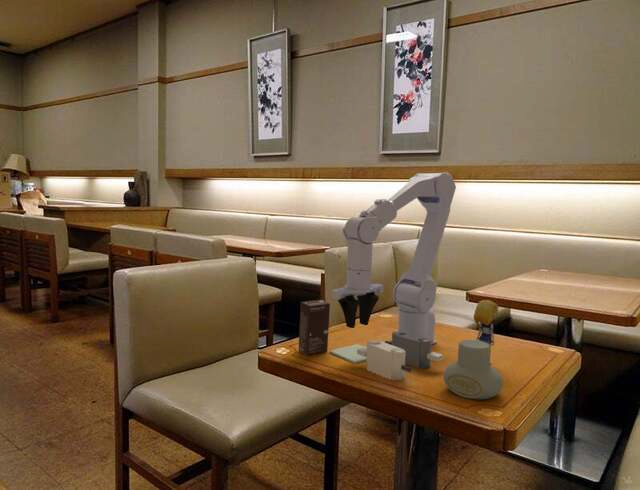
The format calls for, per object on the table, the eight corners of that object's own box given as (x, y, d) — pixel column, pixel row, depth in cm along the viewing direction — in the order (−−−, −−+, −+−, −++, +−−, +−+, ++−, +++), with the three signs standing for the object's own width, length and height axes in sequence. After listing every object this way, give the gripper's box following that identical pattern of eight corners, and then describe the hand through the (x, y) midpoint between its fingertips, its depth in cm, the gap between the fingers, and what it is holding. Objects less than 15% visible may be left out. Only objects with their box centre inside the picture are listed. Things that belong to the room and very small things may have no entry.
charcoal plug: (380, 356, 113) (381, 331, 112) (389, 353, 116) (391, 328, 115) (435, 373, 103) (436, 346, 102) (443, 369, 106) (445, 342, 105)
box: (308, 356, 112) (309, 305, 111) (298, 350, 116) (299, 301, 114) (329, 352, 115) (330, 302, 114) (319, 346, 119) (320, 299, 118)
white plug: (415, 382, 98) (416, 354, 97) (403, 386, 96) (404, 357, 95) (365, 362, 109) (366, 336, 108) (354, 365, 107) (355, 339, 106)
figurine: (498, 365, 109) (502, 300, 107) (483, 370, 106) (487, 303, 104) (481, 359, 113) (485, 296, 111) (466, 363, 110) (470, 299, 108)
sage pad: (357, 345, 120) (357, 343, 120) (383, 356, 113) (383, 353, 113) (329, 352, 115) (329, 350, 115) (355, 363, 108) (355, 361, 108)
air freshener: (436, 392, 93) (438, 342, 92) (454, 380, 100) (456, 333, 99) (492, 409, 86) (495, 355, 85) (507, 395, 93) (511, 345, 92)
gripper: (369, 264, 119) (367, 317, 121) (324, 268, 110) (322, 326, 112) (390, 268, 114) (388, 324, 115) (344, 273, 105) (342, 333, 106)
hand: (357, 325), depth 113 cm, fingers open, 4 cm apart
